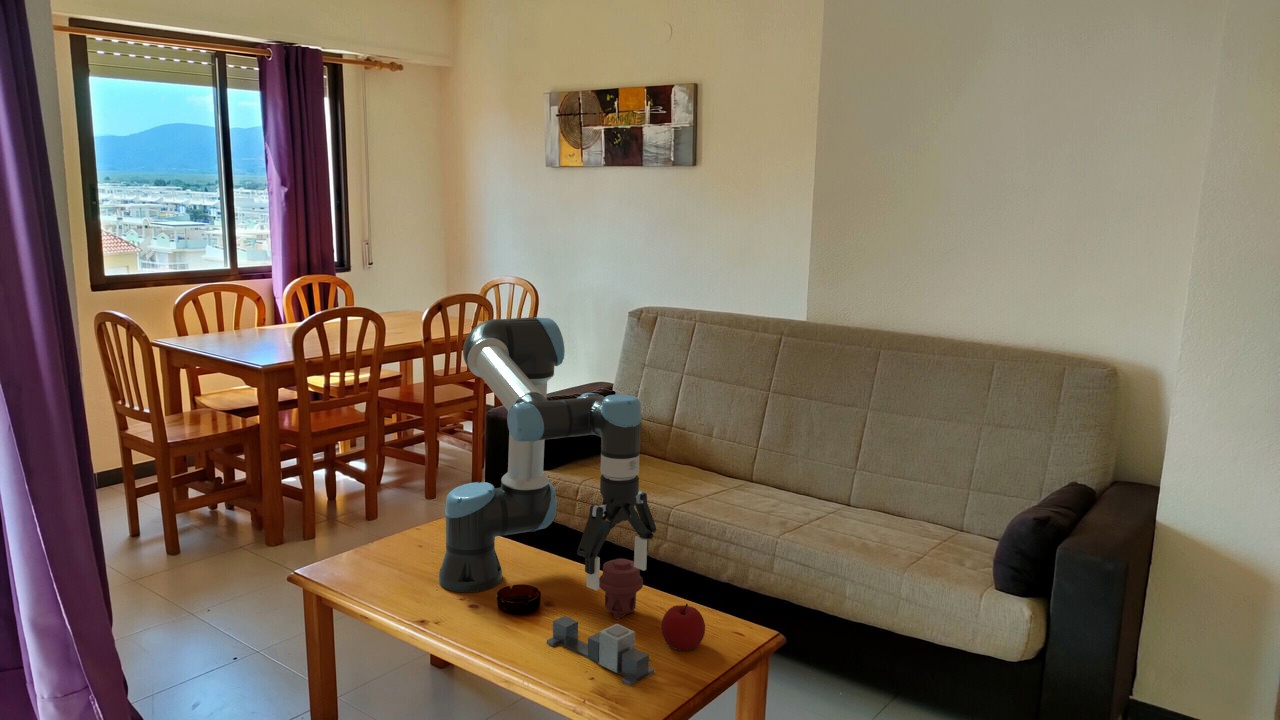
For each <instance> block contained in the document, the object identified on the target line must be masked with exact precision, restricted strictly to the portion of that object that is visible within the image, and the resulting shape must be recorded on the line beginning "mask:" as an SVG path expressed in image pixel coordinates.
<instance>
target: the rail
mask: <svg viewBox="0 0 1280 720" xmlns="http://www.w3.org/2000/svg"><path fill="white" fill-rule="evenodd" d="M599 637H600V631H599V632H597V633H595V634H593V635H591V636H589V637H587V643H586V642H584V641H582V640H580V639H579V621H577V620H575V619H573V618H571V617H569V616H567V615H564V616H563V615H562V616H561V617H559V618H557V619H554V620H553V621H552V637H551V638H548V639H546V644H547V645H549V646H550V647H553V648H554V647H556V646H559V645H560V646H563V648H567V649H568V650H571V651H572V652H574V653H577V655H581V656H583V657H584V658H587V659H589V661H593V662H595V663H597V664H599ZM649 663H650V655H649V654H648V653H646V652H643V651H641V650H639V649H638V648H633V649H631V650H629V651H627V652H625V653H623V654H622V671H620V672H618V673H617V674H619V675H621V676H622V677H623V678H622V683H623V684H625V685H628V686H629V687H631V686H633V685H635V684H636V683H639V682H640V681H642V680H643V679H645V678H648V677H649V676H651V675H653V674H655V668H653V667H651V666H649V665H650V664H649ZM599 665H600V664H599Z"/></svg>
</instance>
